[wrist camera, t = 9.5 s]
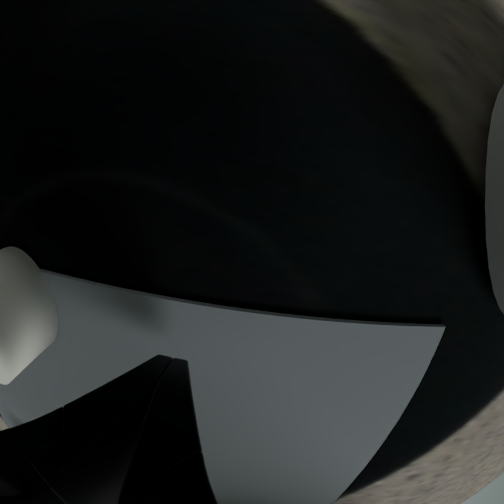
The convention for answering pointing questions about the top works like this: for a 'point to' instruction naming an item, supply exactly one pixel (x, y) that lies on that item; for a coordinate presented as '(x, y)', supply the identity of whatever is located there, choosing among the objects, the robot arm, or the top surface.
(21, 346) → the door stop
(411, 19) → the top surface
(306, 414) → the mat
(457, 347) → the top surface
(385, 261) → the top surface
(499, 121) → the saucepan
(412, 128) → the top surface
